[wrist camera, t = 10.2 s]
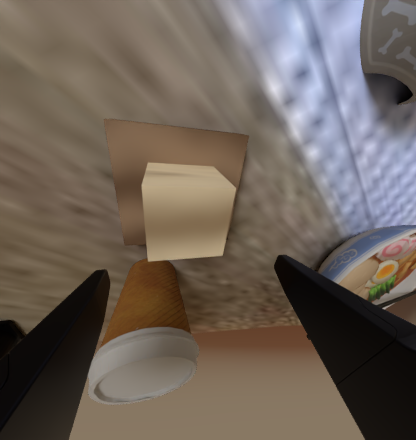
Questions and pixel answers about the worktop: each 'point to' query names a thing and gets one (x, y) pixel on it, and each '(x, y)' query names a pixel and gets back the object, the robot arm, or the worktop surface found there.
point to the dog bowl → (390, 40)
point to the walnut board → (164, 153)
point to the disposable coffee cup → (144, 340)
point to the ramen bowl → (376, 265)
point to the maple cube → (185, 211)
